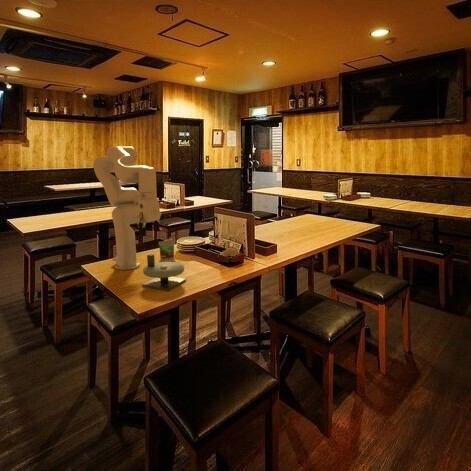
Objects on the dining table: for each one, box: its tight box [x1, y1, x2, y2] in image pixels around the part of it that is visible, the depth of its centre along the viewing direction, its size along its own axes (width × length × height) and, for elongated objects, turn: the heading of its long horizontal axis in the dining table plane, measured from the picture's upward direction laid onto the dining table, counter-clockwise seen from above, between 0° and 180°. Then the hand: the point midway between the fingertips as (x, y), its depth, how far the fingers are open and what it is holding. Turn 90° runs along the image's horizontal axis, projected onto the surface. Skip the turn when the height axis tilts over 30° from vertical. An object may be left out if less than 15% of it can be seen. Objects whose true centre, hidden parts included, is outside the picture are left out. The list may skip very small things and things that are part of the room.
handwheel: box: [142, 253, 185, 279], centre depth 164 cm, size 18×18×6 cm
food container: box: [158, 236, 176, 259], centre depth 207 cm, size 12×6×10 cm, turn 159°
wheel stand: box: [141, 276, 187, 292], centre depth 166 cm, size 14×14×6 cm
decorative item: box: [219, 247, 241, 256], centre depth 199 cm, size 12×9×10 cm
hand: (149, 233), depth 165 cm, fingers open, 9 cm apart
